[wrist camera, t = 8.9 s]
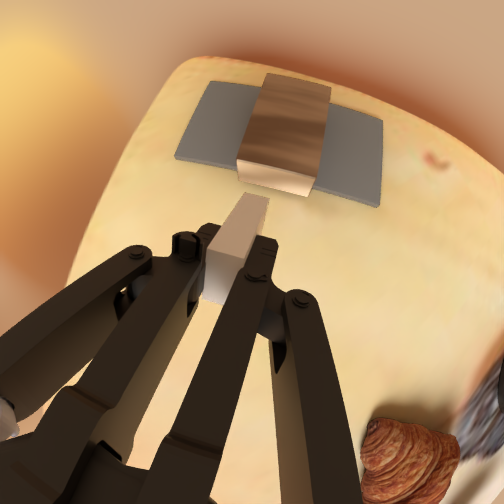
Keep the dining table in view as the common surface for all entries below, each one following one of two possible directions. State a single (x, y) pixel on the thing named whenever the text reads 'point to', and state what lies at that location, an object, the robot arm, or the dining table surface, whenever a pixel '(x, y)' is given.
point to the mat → (333, 150)
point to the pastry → (406, 463)
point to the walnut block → (285, 135)
